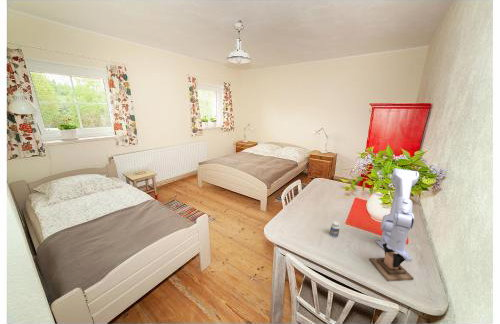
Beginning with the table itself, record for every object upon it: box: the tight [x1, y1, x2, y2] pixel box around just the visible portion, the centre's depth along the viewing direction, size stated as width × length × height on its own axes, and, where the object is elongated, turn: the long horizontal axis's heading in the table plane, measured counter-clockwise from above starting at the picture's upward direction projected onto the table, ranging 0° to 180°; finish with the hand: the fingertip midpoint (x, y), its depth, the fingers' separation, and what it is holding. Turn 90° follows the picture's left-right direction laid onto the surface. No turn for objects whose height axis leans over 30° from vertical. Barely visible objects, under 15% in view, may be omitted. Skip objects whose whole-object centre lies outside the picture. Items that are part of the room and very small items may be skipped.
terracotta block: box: [384, 251, 399, 269], centre depth 88 cm, size 4×4×6 cm
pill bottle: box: [329, 220, 341, 238], centre depth 113 cm, size 5×5×8 cm
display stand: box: [368, 257, 414, 282], centre depth 89 cm, size 12×12×3 cm
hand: (391, 262), depth 89 cm, fingers closed on terracotta block, 4 cm apart
